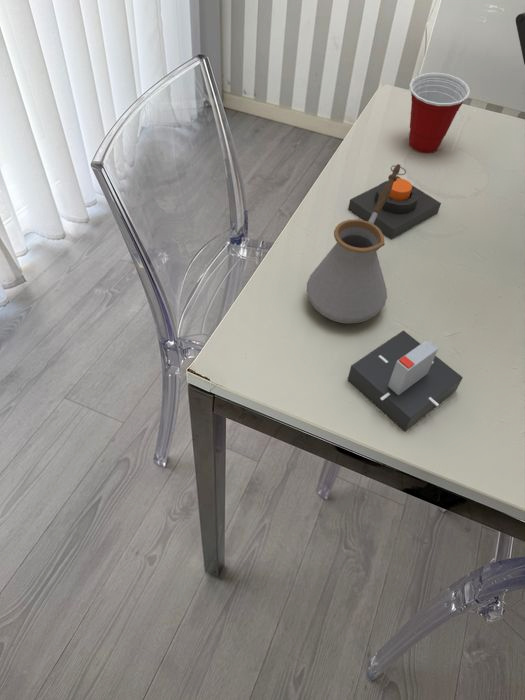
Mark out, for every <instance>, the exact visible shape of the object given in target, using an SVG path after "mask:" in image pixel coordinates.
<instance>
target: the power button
mask: <svg viewBox="0 0 525 700" xmlns="http://www.w3.org/2000/svg"><path fill="white" fill-rule="evenodd" d="M412 185H413V184H412V183H411V182H410V181H409V180H407V179H406V178H405V179H404V178H401V177H400V178H397V180H396V181H395V182H394V183H393V186H392V189H391V193H390V195H389V196H388V197H390V198H391V199H394V200H398V201H401V200H407V199H408V198H409V197H410V193H411V190H412Z"/></svg>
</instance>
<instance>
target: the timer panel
mask: <svg viewBox="0 0 525 700" xmlns="http://www.w3.org/2000/svg"><path fill="white" fill-rule="evenodd" d="M420 344H421V342H419V341H418V340H417V339H415V338H414V337H413V336H411V335H410V333H408V332H406V330H404V329H403V330H402V331H400V332H399V333H397V334H396V335H394V336H393V337H391V338H390V339H388V340H386V341H385V342H384V343H382V344H381V345H379V346H378V347H377V348H375V349H373V350H372V351H370V352H369V353H368V354H366V355H364V356H363V357H361V358H360V359H359V360H357V361H355V363H353V364H351V365H350V369H349V372H348V376H347V381H348V382H349V383H351V385H353V386H354V387H355V388H356V389H357V390H358V391H359V392H360V393H361V394H363V395H364V396H365V397H366V398H367V399H368V400H369V401H370V402H372V404H373V405H375V406H376V407H377V408H378V409H379V410H380V411H381V412H383V414H385V415H386V416H387V418H389V419H390V420H391V421H392V422H394V423H395V424H396V425H397V426H398V427H399V428H400V429H401V430H402V431H404V432H406V431H408V430H409V429H410V428H412V426H414V425H415V424H416V423H418V422H419V421H420V420H421V419H423V418H424V417H425V416H426V415H428V414H429V413H430V412H431V411H433V410H434V409H435V408H436V407H439V406H440V404H442V403H443V402H444V401H446V399H448V398H450V396H452V395H453V394H454V393H456V392H457V390H458V387H459V386H460V384H461V382H462V380H463V376H462V375H461V374H459V373H458V372H456V370H454V369H453V368H452V367H451V366H449V365H448V364H447V363H445V362H444V361H443V360H442V359H441V358H439V357H438V356H437V355H435V358H434V360H433V362H432V364H431V367H430V369H429V371H428V374H427V375H425V376H424V377H423V378H421V379H420V380H418V381H417V382H416V383H414V384H413V385H412V386H410V387H409V388H408V389H406V390H405V391H404V392H402V393H401V394H400V395H397V394H396V393H395V392H394V391H393V390H392V389H390V388H389V387H388V384H389V381H390V379H391V376H392V373H393V370H394V367H395V365H396V362H397V361H398V360H399V359H400V358H402V357H403V356H405V355H406V354H408V353H409V352H410V351H412V350H413V349H415V348H416V347H417V346H419V345H420Z"/></svg>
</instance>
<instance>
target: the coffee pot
mask: <svg viewBox="0 0 525 700" xmlns="http://www.w3.org/2000/svg"><path fill="white" fill-rule="evenodd" d="M401 169H402V171H404V172H403V173H400V170H401ZM390 171H391V172H392V173H391V174H389V175H388V176H387V178H388V180H387V181H388V182H387V183H386V185H385V186H384V187H383V189H382V191H381V193H380V196H379V198H378V200H377V203H376V205H375V208H374V210H373V212H372V215H371V217H370V219H369V221H364V220H362V219H355V218H353V219H346V220H343V221H341V222H340V223H338V224H337V226H335V228H334V230H333V237H334V240H335V242H336V243H335V244H334V245H333V247H332V248H331V249H330V250H329V251H328V253H327V254H326V256H325V257H324V258H323V259H322V260H321V262H320V263H319V264H318V265H317V267H315V269H314V270H313V272H311V274H310V275H309V278H308V280H307V282H306V294H307V297H308V300H309V302H310V304H311V305H312V307H313V308H314V309H315V311H317V312H318V313H319V314H320V315H322V316H323V317H325V318H327V319H328V320H331V321H333V322H336V323H339V324H357V323H362V322H365V321H368V320H371V319H373V317H375V316H376V315H378V313H380V312H381V310H382V309H383V308H384V307H385V305H386V302H387V299H388V292H387V286H386V282H385V279H384V275H383V271H382V267H381V263H380V259H379V256H378V252H377V251H378V250H380V249H381V248H382V247H384V246H385V245H386V244H385V237H384V236H385V235H384V234H382V232H381V230H380V229H379V228H378V227H377V226H376V225H374V222H375V220H376V217H377V215H378V214H379V213H380V211H381V209H382V207H383V205H384V204H385V202H386V200H387V198H388V196H389V195H390V193H391V189H392V186H393V183H394V182H395V181H396V180H397V177H396V176H405V175H406V173H407V170H406V169H405V168H404V167H403V166H402V165H401V164H399V163H397V164H394V165H391V167H390Z"/></svg>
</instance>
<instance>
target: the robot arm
mask: <svg viewBox="0 0 525 700" xmlns="http://www.w3.org/2000/svg"><path fill="white" fill-rule="evenodd" d="M515 25H516V31H517V36H518V41H519V45H520V50H521V55H522V60H523V64H524V66H525V12H522V13H519V14H518V15H517V16H516V17H515Z"/></svg>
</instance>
